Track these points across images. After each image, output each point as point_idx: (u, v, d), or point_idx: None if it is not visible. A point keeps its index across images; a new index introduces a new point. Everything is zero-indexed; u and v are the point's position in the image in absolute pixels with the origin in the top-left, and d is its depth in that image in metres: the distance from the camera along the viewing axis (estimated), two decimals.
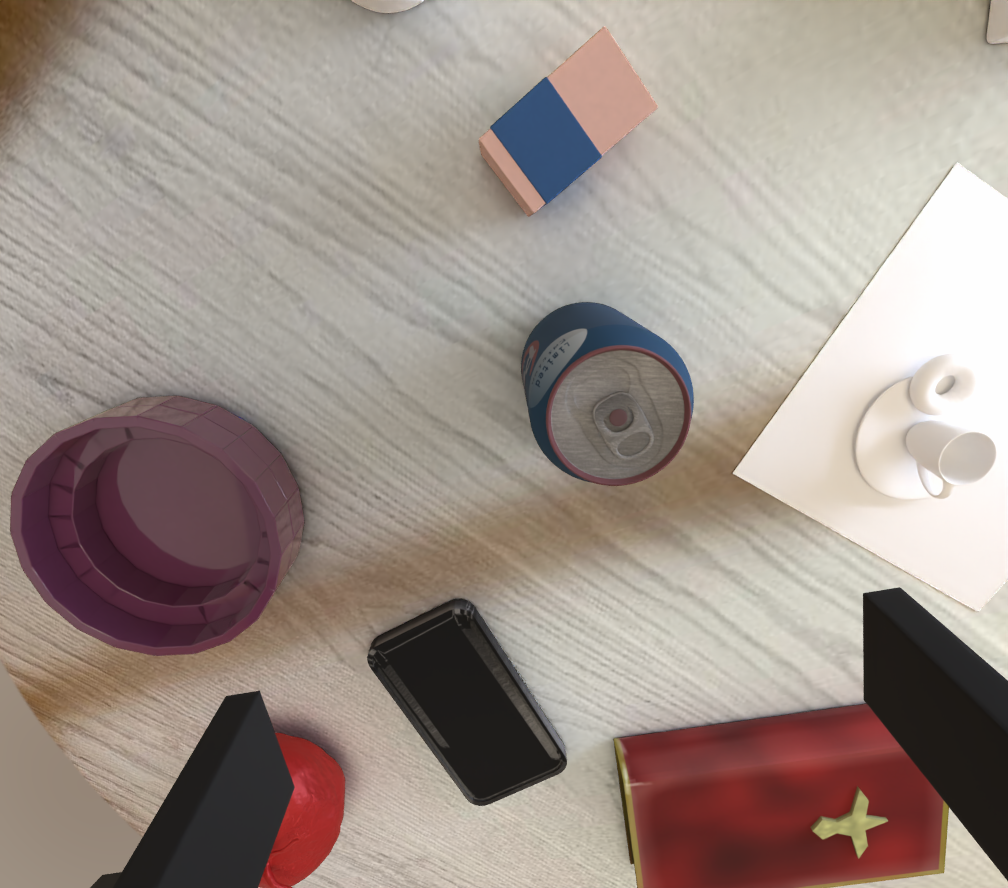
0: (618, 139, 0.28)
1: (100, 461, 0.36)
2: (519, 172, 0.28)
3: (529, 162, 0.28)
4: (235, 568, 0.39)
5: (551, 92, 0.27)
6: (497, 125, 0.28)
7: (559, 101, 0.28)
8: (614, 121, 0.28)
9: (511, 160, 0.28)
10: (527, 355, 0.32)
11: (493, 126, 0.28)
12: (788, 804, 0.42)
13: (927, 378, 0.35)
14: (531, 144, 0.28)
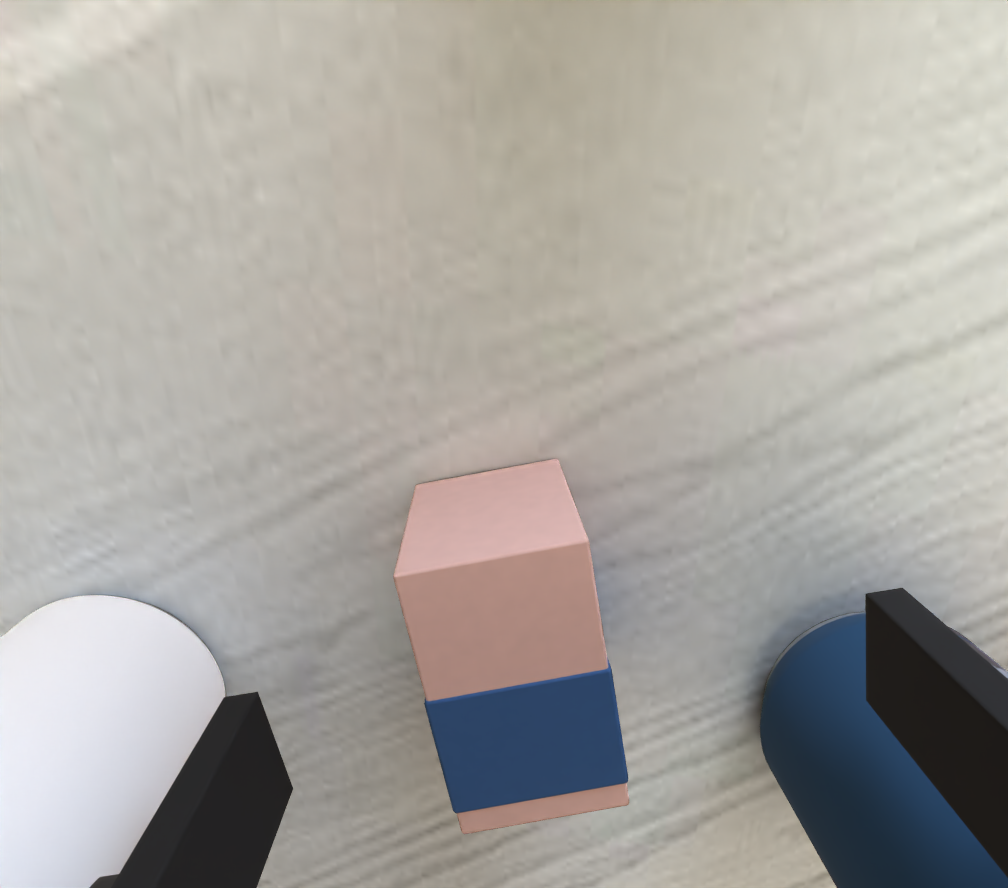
0: (599, 630, 0.13)
1: None
2: (551, 800, 0.15)
3: (546, 782, 0.14)
4: None
5: (455, 707, 0.14)
6: (458, 804, 0.14)
7: (476, 699, 0.14)
8: (564, 625, 0.13)
9: (524, 803, 0.15)
10: None
11: (456, 811, 0.14)
12: None
13: None
14: (519, 768, 0.14)
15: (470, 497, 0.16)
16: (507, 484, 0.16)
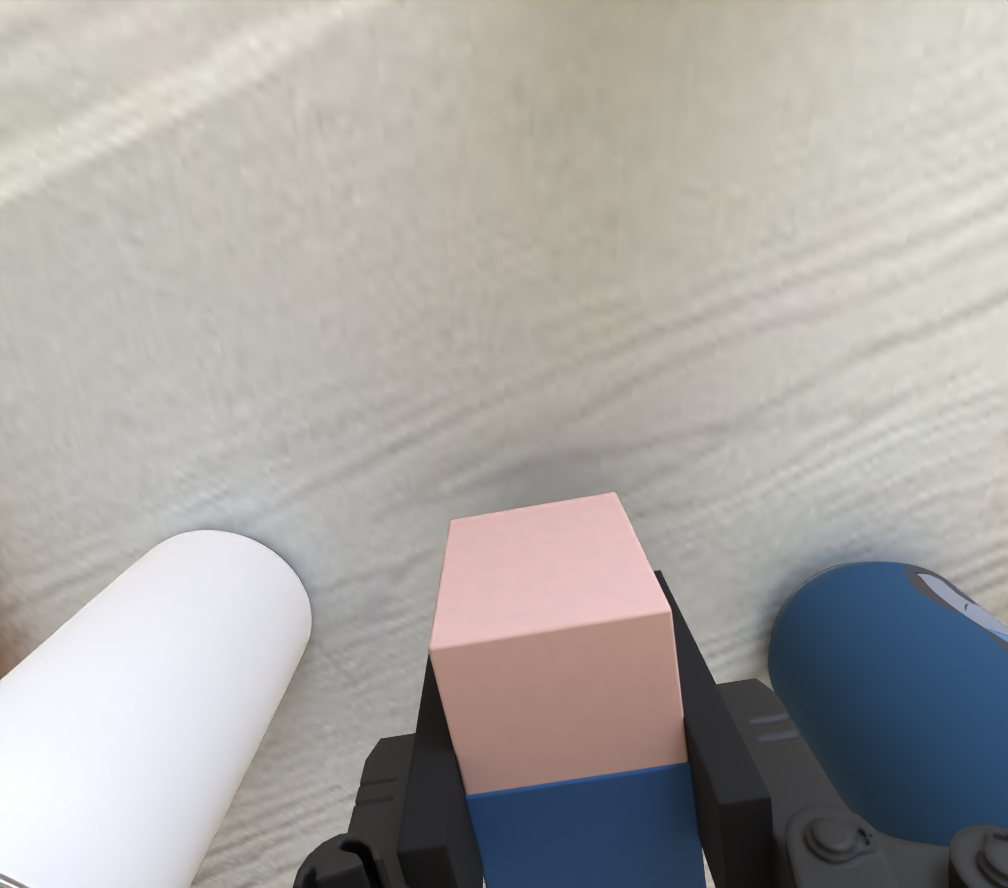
0: (680, 716, 0.11)
1: None
2: None
3: None
4: None
5: (500, 803, 0.11)
6: None
7: (526, 793, 0.11)
8: (637, 710, 0.11)
9: None
10: None
11: None
12: None
13: None
14: (575, 873, 0.12)
15: (516, 541, 0.13)
16: (559, 524, 0.14)
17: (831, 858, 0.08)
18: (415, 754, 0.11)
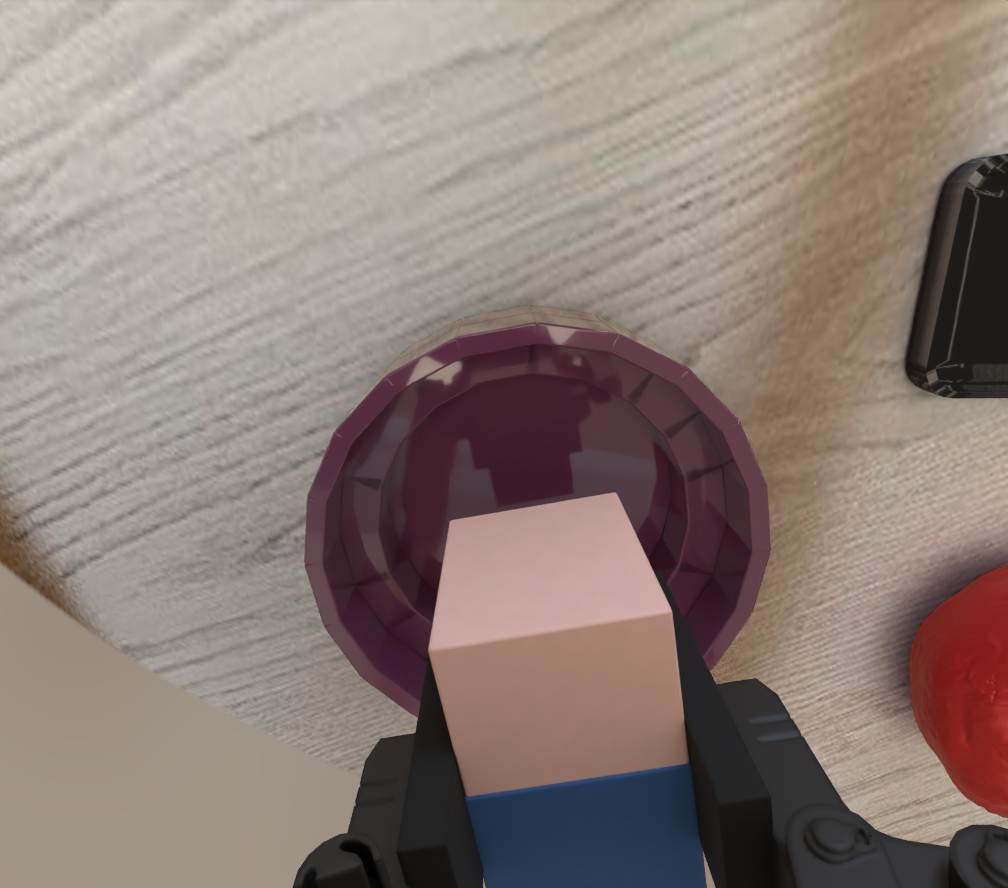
0: (681, 718, 0.11)
1: (398, 555, 0.23)
2: None
3: None
4: (655, 492, 0.24)
5: (500, 804, 0.11)
6: None
7: (526, 795, 0.11)
8: (637, 711, 0.11)
9: None
10: None
11: None
12: None
13: None
14: (575, 875, 0.12)
15: (516, 541, 0.13)
16: (559, 525, 0.14)
17: (831, 858, 0.08)
18: (415, 754, 0.11)
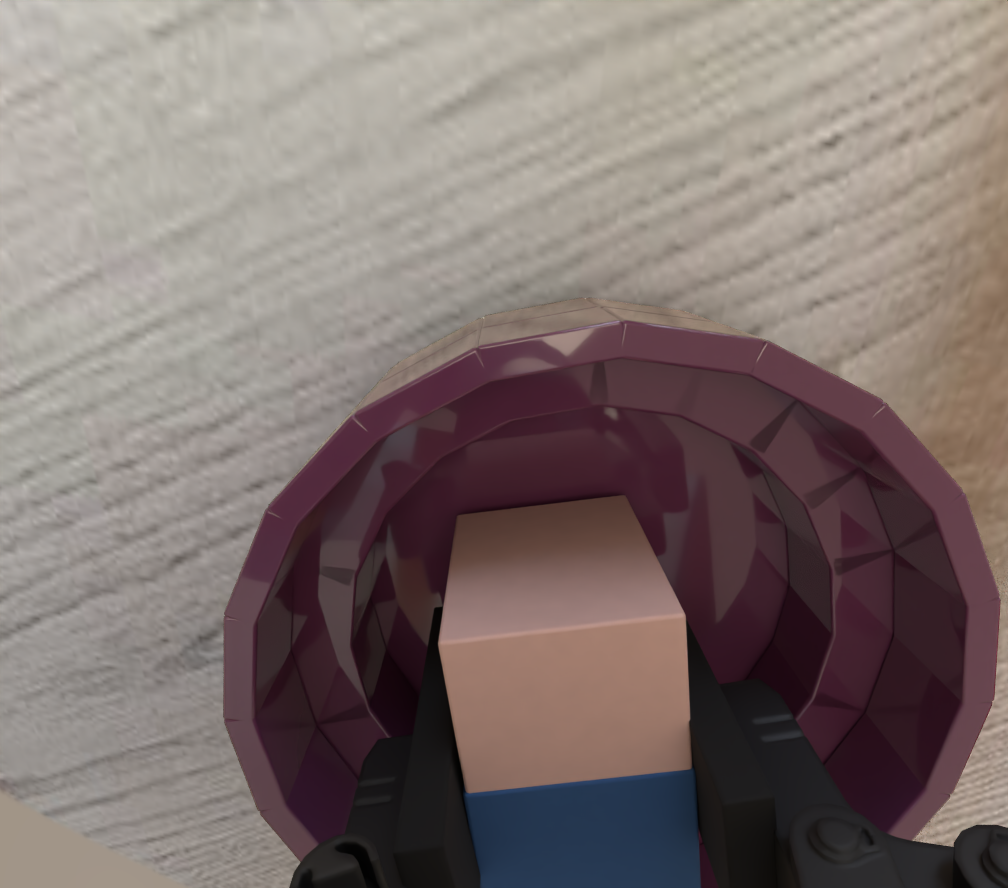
0: (687, 723, 0.11)
1: (384, 669, 0.16)
2: None
3: None
4: (766, 577, 0.16)
5: (500, 803, 0.11)
6: None
7: (527, 794, 0.11)
8: (644, 715, 0.11)
9: None
10: None
11: None
12: None
13: None
14: (570, 877, 0.12)
15: (525, 539, 0.13)
16: (568, 525, 0.14)
17: (835, 858, 0.08)
18: (412, 755, 0.11)
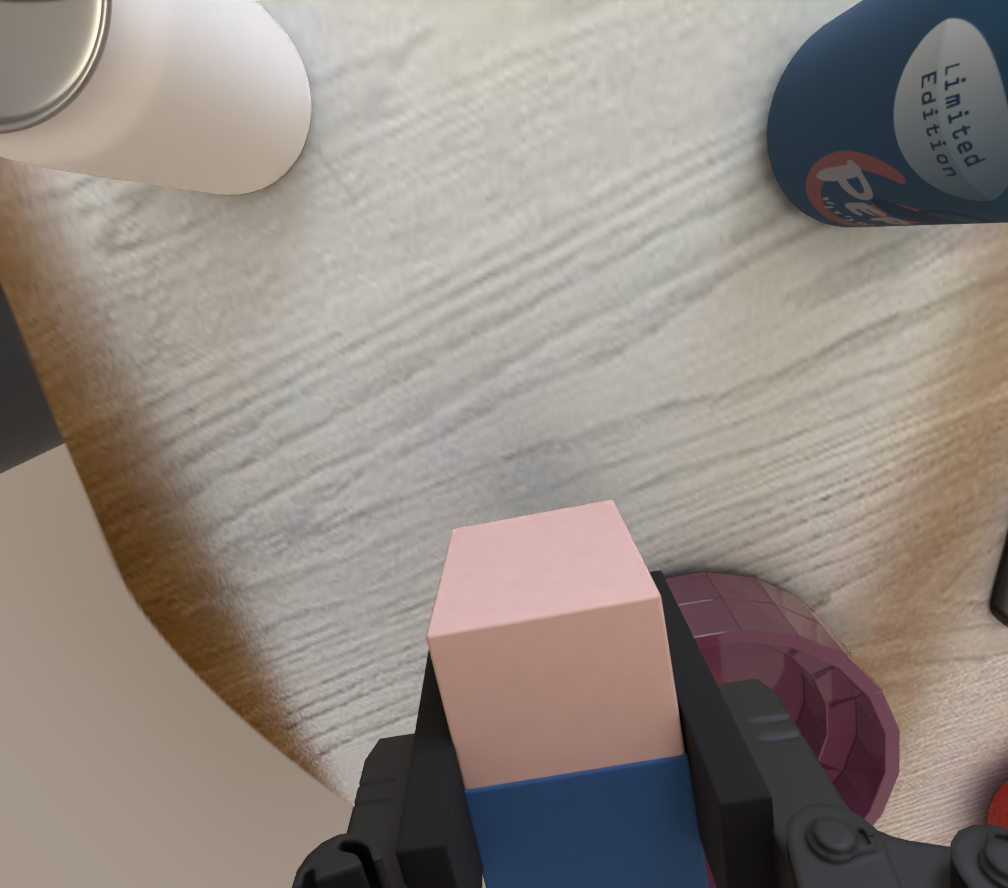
0: (674, 706, 0.11)
1: None
2: None
3: None
4: (792, 698, 0.30)
5: (498, 797, 0.11)
6: None
7: (524, 788, 0.11)
8: (631, 699, 0.11)
9: None
10: (827, 186, 0.20)
11: None
12: None
13: None
14: (575, 875, 0.12)
15: (515, 544, 0.14)
16: (557, 528, 0.14)
17: (833, 858, 0.08)
18: (414, 754, 0.11)
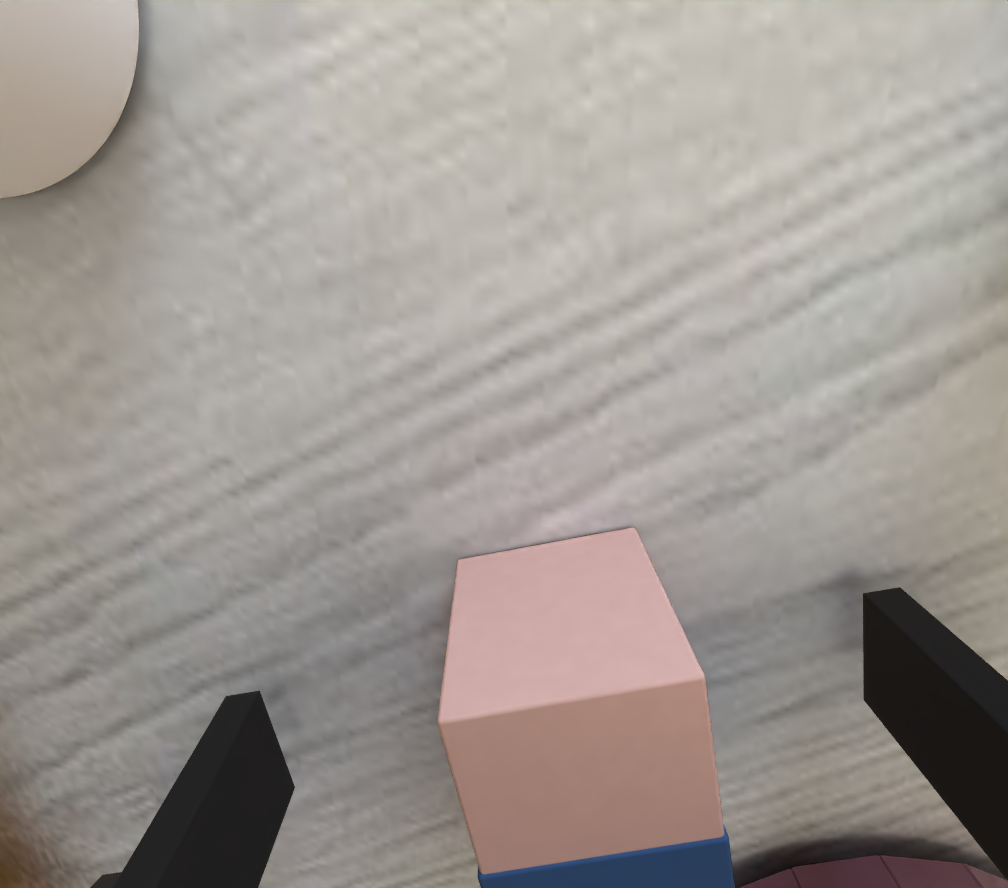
0: (715, 789, 0.10)
1: None
2: None
3: None
4: None
5: (518, 883, 0.10)
6: None
7: (547, 872, 0.10)
8: (667, 783, 0.10)
9: None
10: None
11: None
12: None
13: None
14: None
15: (530, 586, 0.12)
16: (575, 566, 0.13)
17: None
18: None
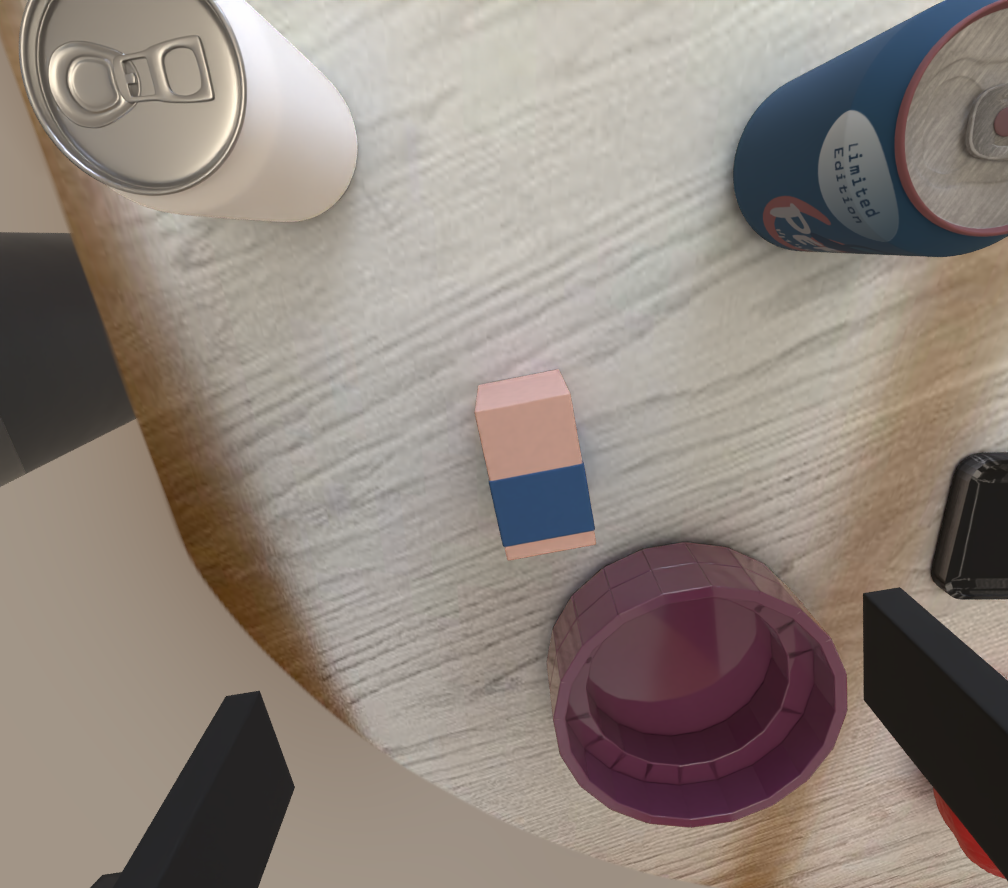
0: (577, 442, 0.26)
1: (587, 695, 0.35)
2: (554, 540, 0.28)
3: (551, 529, 0.28)
4: (761, 653, 0.35)
5: (504, 484, 0.27)
6: (505, 541, 0.28)
7: (515, 480, 0.27)
8: (559, 439, 0.26)
9: (540, 542, 0.28)
10: (778, 221, 0.24)
11: (504, 545, 0.28)
12: None
13: None
14: (537, 520, 0.27)
15: (510, 386, 0.29)
16: (530, 380, 0.29)
17: None
18: None
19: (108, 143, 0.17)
